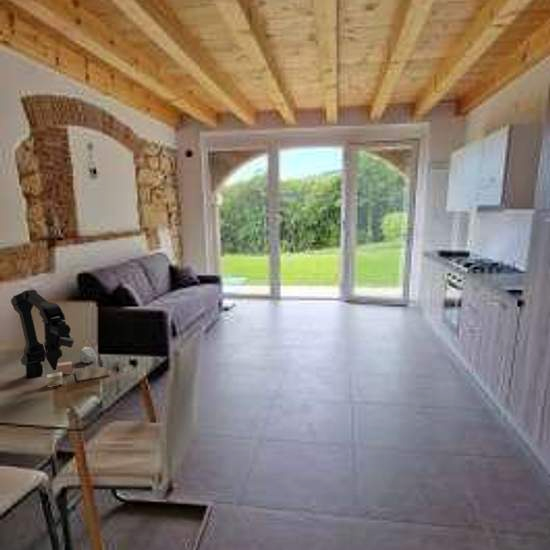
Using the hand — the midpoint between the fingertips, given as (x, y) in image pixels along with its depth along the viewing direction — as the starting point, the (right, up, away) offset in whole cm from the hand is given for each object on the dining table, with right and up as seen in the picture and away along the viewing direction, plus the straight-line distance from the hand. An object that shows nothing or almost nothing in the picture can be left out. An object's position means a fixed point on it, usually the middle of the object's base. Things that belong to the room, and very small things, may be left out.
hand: (53, 366), depth 186 cm
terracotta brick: (-2, -7, +15) cm, 16 cm away
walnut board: (+11, -7, +14) cm, 19 cm away
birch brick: (0, -9, +1) cm, 9 cm away
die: (+1, -5, +30) cm, 30 cm away
